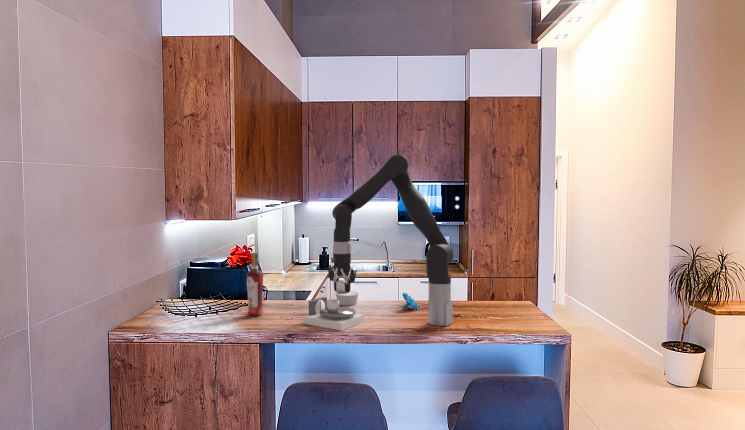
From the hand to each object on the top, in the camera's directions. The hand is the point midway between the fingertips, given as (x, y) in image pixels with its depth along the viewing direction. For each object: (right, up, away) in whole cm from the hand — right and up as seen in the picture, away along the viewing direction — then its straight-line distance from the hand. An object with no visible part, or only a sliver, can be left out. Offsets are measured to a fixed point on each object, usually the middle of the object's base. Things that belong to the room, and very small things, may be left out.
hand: (342, 291), depth 220 cm
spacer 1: (-3, -8, -5) cm, 10 cm away
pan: (-2, -9, -2) cm, 9 cm away
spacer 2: (0, 0, 0) cm, 0 cm away
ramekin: (0, -11, +36) cm, 37 cm away
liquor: (-39, -12, +12) cm, 43 cm away
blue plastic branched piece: (+31, -12, +24) cm, 41 cm away
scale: (-3, -13, -1) cm, 13 cm away
